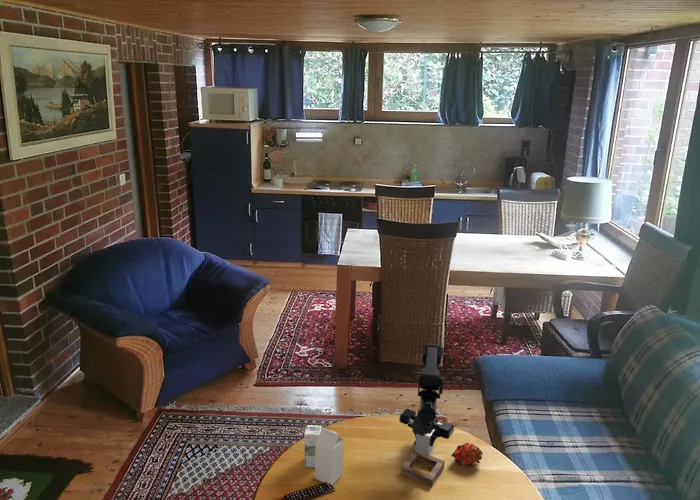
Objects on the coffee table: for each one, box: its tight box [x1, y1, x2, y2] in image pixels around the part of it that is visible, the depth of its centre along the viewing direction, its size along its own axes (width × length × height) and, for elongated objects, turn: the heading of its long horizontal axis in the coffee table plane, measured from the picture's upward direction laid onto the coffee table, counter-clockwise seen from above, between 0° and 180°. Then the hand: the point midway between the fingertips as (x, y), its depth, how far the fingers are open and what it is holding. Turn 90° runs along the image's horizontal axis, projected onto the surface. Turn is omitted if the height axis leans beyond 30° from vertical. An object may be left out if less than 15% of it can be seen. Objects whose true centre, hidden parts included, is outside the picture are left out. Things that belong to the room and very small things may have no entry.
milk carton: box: [314, 427, 345, 486], centre depth 193 cm, size 7×7×19 cm
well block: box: [400, 449, 446, 488], centre depth 200 cm, size 12×12×3 cm
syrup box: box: [303, 424, 322, 469], centre depth 201 cm, size 6×6×14 cm
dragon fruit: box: [450, 442, 484, 468], centre depth 205 cm, size 8×8×12 cm
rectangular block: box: [414, 430, 435, 457], centre depth 197 cm, size 5×5×8 cm
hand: (424, 443), depth 197 cm, fingers closed on rectangular block, 5 cm apart
